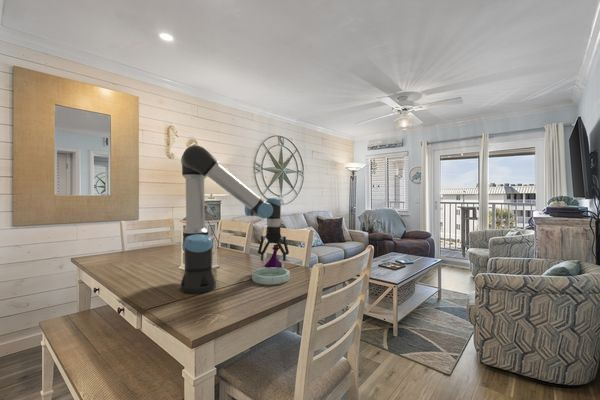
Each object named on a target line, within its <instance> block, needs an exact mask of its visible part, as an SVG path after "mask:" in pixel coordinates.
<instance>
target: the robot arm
mask: <svg viewBox="0 0 600 400" xmlns="http://www.w3.org/2000/svg"><path fill="white" fill-rule="evenodd" d="M180 162H181V172H182V173H181V176H182V177H183V178H184V179H185V223H186V224H185V229H184V230H183V231H182V244H181V246H182V251H183V253H184V274H183V276H182V279H181V282H180V287H179V288H180V291H181V292H182V291H183V292H182V293H184V292H185V293H184V294H201V293H203V294H204V293H207V292H211V291H212V290H215V289H216V287H217V280H216V278H215V275H214V272H213V240H212V237H211V236H210V235H209V230H208V229H207V228H206V227H205V226H206V223H205V222H206V219H205V217H206V216H205V213H206V212H205V180H206V178H209V179H210V180H212V181H213V182H215V183H216V184H217V185H218V186H219V187H221V188H222V189H224V190H225V191H226V192H227V193H228V194H230V195H231V196H232V197H234V199H236V200H238V201H239V202H240V203H241V204H243V205H244V213H245V216H247V217H259V218H261V219H266V234H265V235H261V236H260V243H259V247H258V251H257V254H258V255H260V256H261V257H260V260H261V261H262V268H265V264H266V254H265V253H266V250H267V249H268V247H269V246H270V244H277V245H278V246H279V248H280V249H279V250H280V252H281V263H282V267H281V268H284V262H285V261H286V260H287V259H286V258H287V257H286V255H289V254H290V251H289V247H288V243H287V236H286V235H282V234H281V223H282V221H281V218H282V217H281V215H282V214H281V213H282V211H281V207H282V206H281V205H282V203H281V198H279V197H278V198H277V197H267V199H266V201H264V199H262V198H261V197H260V196H259V195H258V194H256V193H255V192H254V191H252V190H251V188H249V187H248V186H247V185H245V184H244V183H243V182H241V181H240V180H239V179H238V178H237V177H236V176H234V175H233V174H232V173H231V172H229V171H228V170H227V169H226V168H224V167H223V166H222V165H221V164H220V163H219V159H217V158H216V157H215V156H213V155H212V154H211V152H209V151H208V150H207V149H206V148H204V147H203V146H201V145H196V144H195V145H190V146H189V147H187V148H186V149H185V150H184V151H183V154H182V155H181V159H180ZM265 239H266V240H267V242H266V244H265V245H264V242H265ZM280 240H282V242H283V245H284V247H283V245H282V244H281V242H280ZM263 245H264V247H263Z"/></svg>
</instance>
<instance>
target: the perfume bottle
mask: <svg viewBox="0 0 600 400" xmlns="http://www.w3.org/2000/svg"><path fill="white" fill-rule="evenodd" d="M272 250H273V252H272V254H271V257H270V259H268V261H267V262H265V267H264V268H267V267H278V268H282V261H280V260H279V259H278V258H277V252H278V251H279V250H280V248H279V246H278V245H277V243H274V244H273V247H272Z"/></svg>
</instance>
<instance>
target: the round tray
mask: <svg viewBox="0 0 600 400" xmlns="http://www.w3.org/2000/svg"><path fill="white" fill-rule="evenodd" d="M290 273H291V272H290V270H289V269H287V268H284V267H283V268H282V267H281V268H278V267H267V268H265V267H261V268H257V269H254V270H253V271H252V272H251V280H252V282H253V283H255V284H258V285H259V284H260V285H267V286H268V285H269V286H273V285H274V286H275V285H280V284H284V283H287V282H288V281H289V280H290V275H291V274H290Z"/></svg>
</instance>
